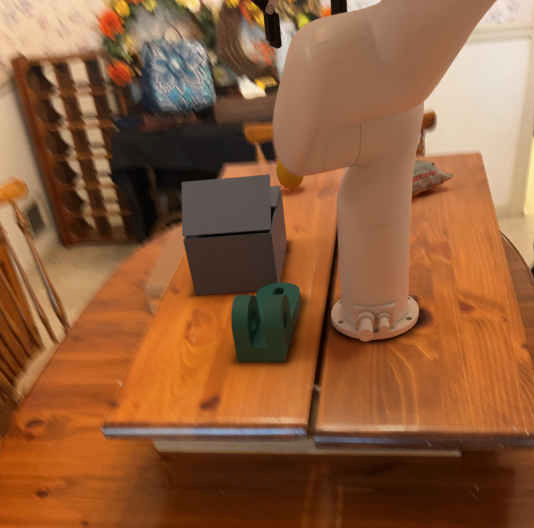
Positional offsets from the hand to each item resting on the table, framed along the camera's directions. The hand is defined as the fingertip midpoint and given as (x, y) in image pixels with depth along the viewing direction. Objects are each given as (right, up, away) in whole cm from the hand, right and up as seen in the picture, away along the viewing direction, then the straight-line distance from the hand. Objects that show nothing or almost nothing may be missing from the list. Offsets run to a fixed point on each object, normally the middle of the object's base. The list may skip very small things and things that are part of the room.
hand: (307, 39), depth 89 cm
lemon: (-1, -3, +42) cm, 42 cm away
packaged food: (+23, -7, +34) cm, 41 cm away
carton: (-10, -25, +21) cm, 34 cm away
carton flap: (-12, -20, +8) cm, 25 cm away
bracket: (-5, -39, +6) cm, 40 cm away
